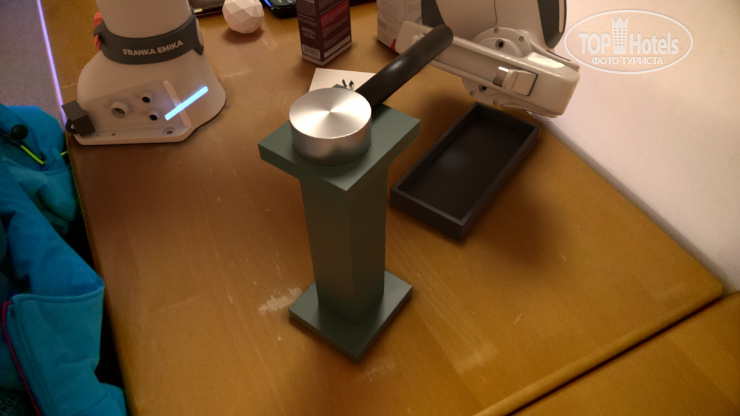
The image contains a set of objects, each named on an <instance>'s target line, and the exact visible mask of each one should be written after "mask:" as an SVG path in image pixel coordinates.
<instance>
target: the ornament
mask: <svg viewBox="0 0 740 416" xmlns="http://www.w3.org/2000/svg"><path fill="white" fill-rule="evenodd" d="M221 9H222V10H221V12H222V15H223V18H224V21H225V22H226V24H227V25H228V26H229V28H230V29H231V30H232V31H235V32H238V33H240V34H242V35H244V34H253V33H254V32H256V31H257V30H258V29H259V28H260V27H262V24H263V21H264V18H265V12H264V8H263V4H262V2H260V0H224V3H223V6H222V8H221Z"/></svg>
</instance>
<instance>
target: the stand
mask: <svg viewBox="0 0 740 416" xmlns="http://www.w3.org/2000/svg"><path fill="white" fill-rule="evenodd" d="M332 88H343V89H348V88H346V87H343V86H341V85H339V84H336V85H334V86H333V87H332ZM348 90H350V89H348ZM351 91H353V90H351ZM421 123H422V119H419V118H417V117H415V116H413V115H410V114H408V113H406V112H404V111H401V110H398V109H396V108H395V107H392V106H389V105H387V104H385V103H382V104H381V105H380V106H378V107H377V108H376V109H375V110H374V111H373V112H371V144H370V146H369V148H368V149H367V151H366V152H365V153H364V154H363V155H362V156H360V157H359V158H357V159H356V160H353V161H351V162H348V163H345V164H341V165H332V166H329V165H319V164H315V163H312V162H309V161H307V160H305V159H304V158H302V157H301V156H300V155H299V154H298V153H297V152H296V150H295V149H294V146H293V141H292V135H291V128H290V122H289V119H288V120H286V121H285V122H284V123H282V124H280V126H279V127H277V128H276V129H275V130H273V131H272V132H270V133H269V134H267V136H265V137H264V138H262V139H261V140H260V141H259V142H258V143H257V148H258V152H259V157H260V160H262V161H264V162H266V163H267V164H269V165H271V166H273V167H275V168H276V169H278V170H280V171H282V172H283V173H285V174H287V175H289V176H291V177H292V178H295V179H296V180H298V181H299V189H300V194H301V200H302V208H303V214H304V220H305V226H306V232H307V239H308V245H309V251H310V258H311V265H312V270H313V278H314V281H313V282H312V283H311V284H310V285H309V286H308V287H307V288H306V289H305V290H304V291H303V292H302V293H301V295H300V296H299V297H298V298H297V299H295V301H294V302H292V304H291V305H290V306H289V307H288V308H287V310H288V315H289V317H290V318H292V319H293V320H295V322H298V323H299V324H300V325H302V326H303V327H305V328H306V329H308V330H309V331H310V332H312V333H313V334H315V335H316V336H317V337H318V338H320V339H322V340H323V341H324V342H325V343H327V344H329V345H330V346H331V347H333V348H335V349H336V350H337V351H339V352H340V353H341V354H342V355H345V356H346V357H347V358H349V359H350V360H351V361H352V362H354V363H356V364H358V363H359V362H360V360H361V359H362V358H363V357H364V355H365V354H367V351H368V350H369V349H370V348H371V346H372V345H373V344H374V343H375V341H376V340H377V339H378V337H379V336H380V335H381V333H382V332H383V331H384V330H385V329H386V327H387V326H388V325H389V324H390V322H391V321H392V320H393V318H394V317H395V316H396V315H397V313H398V312H399V311H400V310H401V308H402V307H403V306H404V304H405V303H406V302H407V300H408V299H409V298H410V297H411V296H412V294H413V287H414V286H413V285H412V284H410V283H409V282H407V281H406V280H404V279H402V278H400V277H398V276H397V275H395V274H393V273H392V272H390V271H388V270H386V243H387V242H386V241H387V240H386V238H387V237H386V236H387V203H388V171H389V170H388V169H389V166H391V164H392V163H393V162H395V160H396V159H397V158H398V157H399V156H401V155H402V153H403V152H404V151H406V149H408V147H410V146H411V145H412V144H413V143H414V142H415V141H416V140H417V139H418V138H419V137H420V134H421V125H422V124H421Z"/></svg>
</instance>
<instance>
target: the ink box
mask: <svg viewBox="0 0 740 416" xmlns="http://www.w3.org/2000/svg"><path fill="white" fill-rule="evenodd" d="M404 21H412V22H415V23H419V24H422V18H421V0H376V32H377V33H376V38H377V40H378V41H380V42H381V43H382V44H384V45H385V46H387V47H388V48H389V49H391V50H392V51H393V52H395V53H396V54H398V56H399V55H400V53H398V52H397V51H396V49H395V44H396V40H397V36H398V33H399V30H400V27H401V25H402V23H403V22H404Z"/></svg>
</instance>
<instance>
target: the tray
mask: <svg viewBox="0 0 740 416" xmlns="http://www.w3.org/2000/svg"><path fill="white" fill-rule="evenodd" d="M541 129H542V126H541V125H538V124H536V123H533V122H531V121H528V120H526V119H523V118H521V117H518V116H516V115H513V114H510V113H508V112H505V111H503V110H500V109H498V108H495V107H493V106H491V105H487V104H484V103H481V102H479V101H477V100H475V101H474V102H473V103H472V104H471V106H469V107H468V108H467V110H465V111H464V113H463V114H462V115H460V117H459V118H458V119H456V121H455V122H454V123H453V124H451V126H450V127H449V128H448V129H447V130H446V131H445V132H444V133H443V134H442V135H441V136H440V137H439V138H438V139H437V141H435V142H434V143H433V144H432V145H431V146H430V147H429V149H428V150H426V151H425V153H423V154H422V156H421V157H420V158H419V159H418V160H417V161H416V162H415V163H414V164H412V165H411V167H409V169H408V170H407V171H406V172H405V173H404V174H403V175H402V176H401V177H400V178H399V179H398V180H397V181H396V182H395V184H393V185H392V186H391V187H390V189H389V204H390V205H393V207H395V208H398V209H400V210H401V211H404V212H405V213H406V214H409V215H411V216H413V217H415V218H416V219H419V220H420V221H422V222H424V223H426V224H427V225H430V226H432V227H434V228H436V229H437V230H439V231H441V232H443V233H445V234H446V235H449V236H451V237H453V238H454V239H457V240H458V241H461V240H462V238H463V237H464V236H465V235H466V233H467V232H468V231H469V230H470V228H471V227H472V226H473V224H474V223H475V221H476V220H477V219H478V218H479V216H480V215H481V214H482V212H483V211H484V210H485V208H486V207H487V206H488V205H489V203H491V201H492V200H493V198H495V196H496V194H497V193H498V192H499V191H500V189H501V188H502V187H503V185H504V184H505V183H506V182H507V180H508V179H509V178H510V177H511V175H512V174H513V172H514V171H516V169H517V167H518V166H519V165H520V163H521V162H522V161H523V160H524V158H525V157H526V156H527V154H528V153H529V152H530V150H532V148H533V147H534V145H535V144H536V143H537V141H538V139H539V135H540V132H541Z"/></svg>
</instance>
